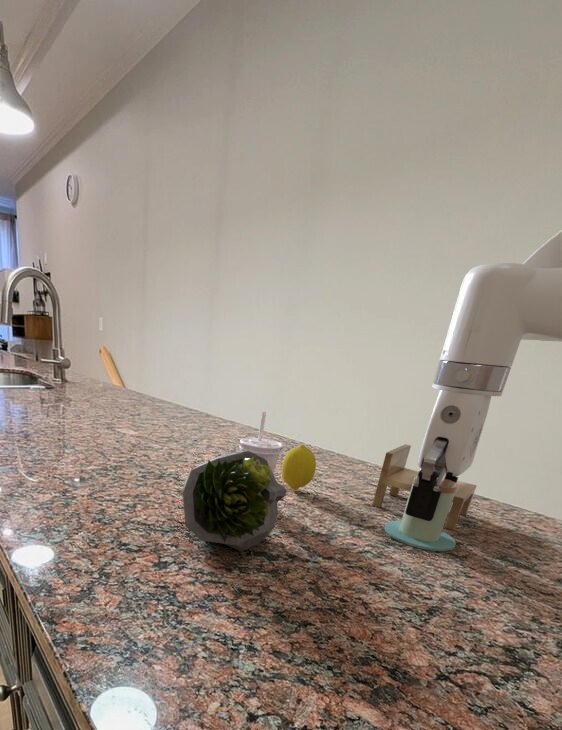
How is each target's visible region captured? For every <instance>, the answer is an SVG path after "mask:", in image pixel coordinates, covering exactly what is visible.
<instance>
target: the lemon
mask: <svg viewBox="0 0 562 730" xmlns="http://www.w3.org/2000/svg"><path fill="white" fill-rule="evenodd" d="M316 468H317V461H316V456H315V454H314V453H313V451H312V450H311V449H309V447H307V446H306V445H305V444H300V445H298V446H295V447H293V448H290V449H289V450H288V451H287V452H286V454H285V456H284V458H283V461H282V463H281V476H282V479H283V481H284V482H285V483H286V484H287V486H289V487H290V488H291V489H292V490H293V491H297V490H298V489H300V488H304V487H306V486H307V485H309V483H311V481H312V480H313V478H314V476H315V473H316Z"/></svg>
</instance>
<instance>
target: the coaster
mask: <svg viewBox="0 0 562 730" xmlns="http://www.w3.org/2000/svg"><path fill="white" fill-rule="evenodd" d="M400 524H401V520H392V521H388V522H387V523H385V524H384V525H385V526H384V531H385V533H386V534H387V535H388V536H389V537H391V538H392V539H393V540H396V541H397V542H400V543H403V544H405V545H407V546H410V547H414V548H417V549H421V550H427V551H431V552H433V551H434V552H447V551H451V550H453V549H455V547H456V544H457V542H456V540H455V538H453V536H451V535H450V534H448V533H447V532H445V531H444V530H443V531H442V534H441V537H440V539H439V540H438V541H435V542H427V541H421V540H417V539H414V538H411V537H408V536H406V535H404V534H403V533H401V532H400V530H399V527H400Z"/></svg>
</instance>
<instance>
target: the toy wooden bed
mask: <svg viewBox="0 0 562 730" xmlns="http://www.w3.org/2000/svg"><path fill="white" fill-rule="evenodd" d="M411 447H412V445H410V444H402V445H400V446H398V447H396V448H393V449H391V450H388V451H386V452H385V456H384V459H383V463H382V467H381V471H380V473H379V474H380V475H379V478H378V481H377V486H376V488H375V493H374V497H373V501H372V504H371V506H372V507H375V508H381V507H382V506H383V503H384V499H385V495H386V491H387V488H388V486H390V490H389V494H388V495H389V496H393V497H398V496H399V494H400V490H404V491H409V492H410V490H411V487H412V484H413V483H412V481H413V477H414V476H415V475H418V473H419V471H420V470H419V471H418V470H415V469H410V468H407V467H406V465H407V461H408V459H409V455H410V451H411ZM457 484H458V485H459V487H458V490H457V492H456V493H455V496H454V499H453V502H452V505H451V507H450V510H449V513H448V516H447V519H446V522H445V525H444V528H445V529H448V530H452V531H455V529H456V526H457V523H458V520H459V517H460V515H461V516H464V517H465V516H466V515H467V514H468V512H469V508H470V506H471V503H472V500H473V497H474V494H475V491H476V489H477V486H478V485H477V484H472V483H469V482H464V481H461V480H457Z"/></svg>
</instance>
